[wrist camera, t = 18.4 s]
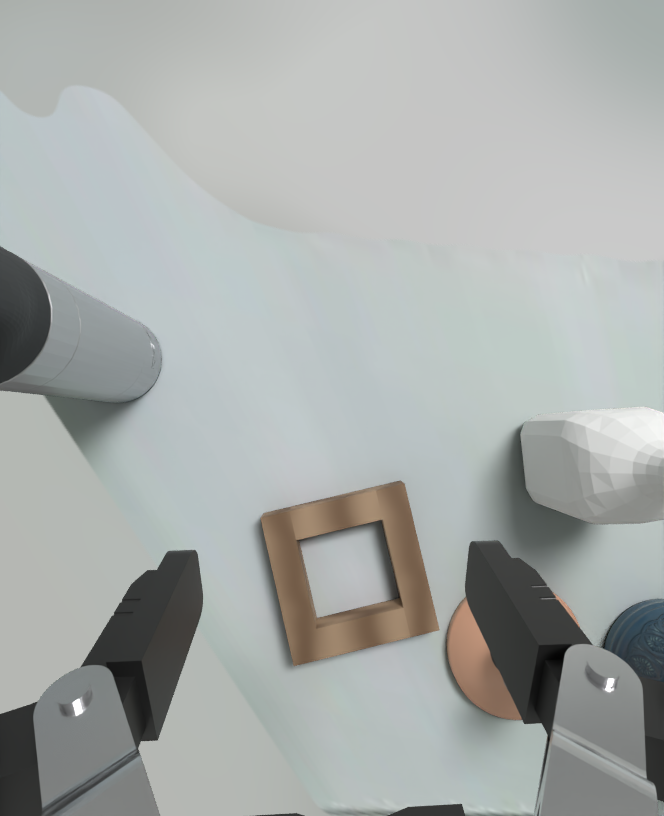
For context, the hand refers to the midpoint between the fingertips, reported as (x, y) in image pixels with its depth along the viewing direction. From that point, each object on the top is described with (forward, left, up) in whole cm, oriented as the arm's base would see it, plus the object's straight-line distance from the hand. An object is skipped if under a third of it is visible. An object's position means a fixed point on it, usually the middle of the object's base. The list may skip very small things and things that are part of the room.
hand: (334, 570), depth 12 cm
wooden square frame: (0, -11, -31) cm, 33 cm away
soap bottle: (+25, -5, -31) cm, 40 cm away
